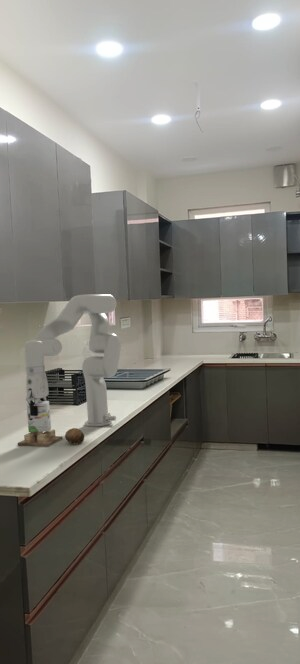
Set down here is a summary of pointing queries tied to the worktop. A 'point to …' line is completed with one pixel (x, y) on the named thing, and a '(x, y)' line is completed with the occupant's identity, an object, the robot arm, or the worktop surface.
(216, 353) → the worktop surface
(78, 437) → the mushroom
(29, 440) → the stand
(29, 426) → the ink box
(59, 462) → the worktop surface
